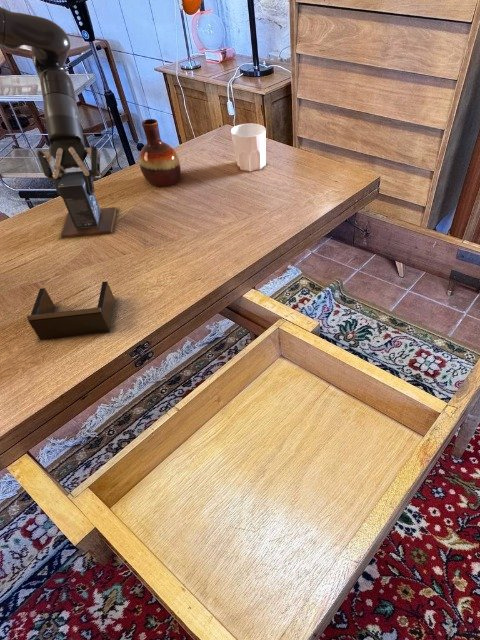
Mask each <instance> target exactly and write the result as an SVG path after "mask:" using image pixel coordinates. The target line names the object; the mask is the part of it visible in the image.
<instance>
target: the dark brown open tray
mask: <svg viewBox="0 0 480 640" xmlns="http://www.w3.org/2000/svg"><path fill="white" fill-rule="evenodd" d="M115 304H116V298H115V296H114V293H113V291H112V289H111V287H110V284H109V282H108V281H107V280H105V281H102V283H101V288H100V292H99V298H98V302H97V306H96V307H91V308H83V309H73V310H65V311H56V305H55V303H54V301H53V299H52V298H51V296H50V294H49V293H48V292H47V289H46V287H41V288H39V289H38V293H37V296H36V299H35V301H34V305H33V307H32V311H31V313H30V315H29V314H28V315H26V320H27V321H28V324H29V325H30V327H31V328H32V330H33V331H34V333H35V334H36V336H37V337H38V339H39V341H46V340H54V339H63V338H73V337H79V336H80V337H81V336H89V335H98V334H106V333H111V328H112V324H113V323H112V322H113V316H114V311H115ZM55 311H56V312H55Z"/></svg>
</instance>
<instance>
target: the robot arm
mask: <svg viewBox="0 0 480 640" xmlns="http://www.w3.org/2000/svg"><path fill="white" fill-rule="evenodd" d="M23 46H27V47H30V49H31V50H30V51H31V52H30V53H31V57H32V62H33V65H34V68H35V72H36V75H37V77H38V79H39V85H40V89H41V90H40V91H41V96H42V102H43V114H44V115H43V116H44V121H45V125H46V130H47V136H48V142H49V148H48V150H45V151H42V150H38V151H36V155H37V158H38V161H39V164H40V166H41V169H42V172H43V174H44V176H45V177H46V178H47V179H49V181H53V182H54V186H55V190H56V191H55V192H56V194H57V195H59V196H60V197H61V198H62V196H61V193H60V191H59V188H58V185H59V183H60V180H61V177H62V175H63V174H64V173H65V172H67V170H68V169H72V168H75V169H80V171H83V173H84V175H85V177H84V180H85V185H86V191H87V194H88V195H89V196H92V195H93V193H94V194H95V191H96V190H95V184H94V178H95V177H100V175H101V152H100V150H99V149H98V148H97V147H96V146H94V145H93V146H91V147H87V146H86V145H85V138H84V132H83V126H82V121H81V116H80V111H79V107H78V104H77V103H78V102H77V99H76V93H75V86H74V83H73V81H72V78H71V77H70V75H69V74H68V73H67V72H66V62H67V58H68V56H69V53H70V51H71V40H70V38H69V36H68V34H67V32H66V31H65V30H64V29H63V27H61V26H60V25H58V24H57V23H56V22H54V21H53V20H50V19H49V18H45V17H42V16H38V15H33V14H28V13H23V12H15V11H11V10H8V9H7V8H4V7H2V6H0V47H2V48H5V49H7V50H10V51H11V50H12V51H17V50H19V49H20V48H21V47H23ZM87 156H89V157H90V160H91V161H90V162H91V163H90V168H88V166H87V165H86V163H85V160H86V158H87ZM51 157H52V158H53V159H54V164H53V170H52V168H51V165H50V164H51Z"/></svg>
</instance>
